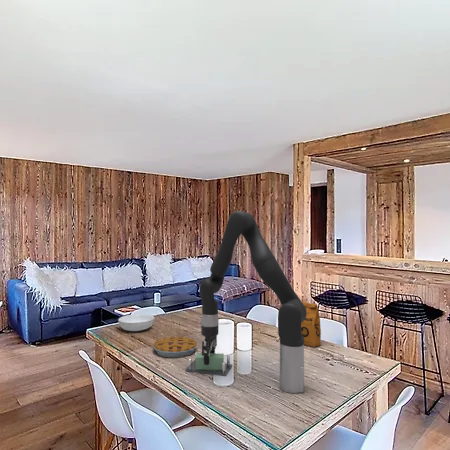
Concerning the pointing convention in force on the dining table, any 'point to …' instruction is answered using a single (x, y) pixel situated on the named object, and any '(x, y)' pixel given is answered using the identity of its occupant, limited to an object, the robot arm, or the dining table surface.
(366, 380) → the dining table surface
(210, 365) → the board
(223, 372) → the chassis
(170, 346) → the pie
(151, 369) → the dining table surface
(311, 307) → the coffee package
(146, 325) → the serving bowl
